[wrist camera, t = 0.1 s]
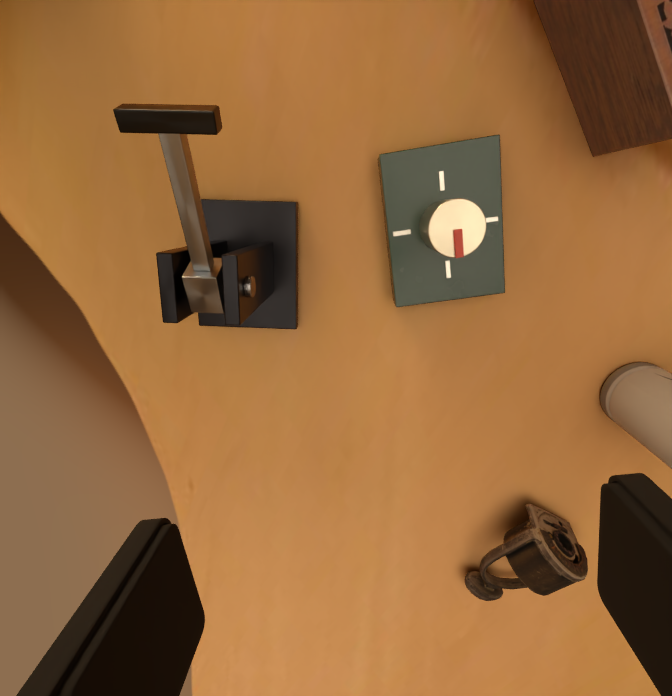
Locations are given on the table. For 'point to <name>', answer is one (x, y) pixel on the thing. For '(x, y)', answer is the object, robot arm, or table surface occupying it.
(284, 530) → the table surface
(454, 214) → the knob
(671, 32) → the tissue box cover
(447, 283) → the dial panel
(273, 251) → the black lever stand
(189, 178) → the press lever
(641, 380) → the travel mug
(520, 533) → the vintage desk clock
